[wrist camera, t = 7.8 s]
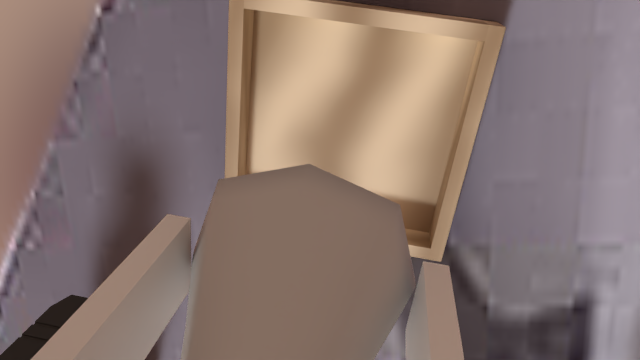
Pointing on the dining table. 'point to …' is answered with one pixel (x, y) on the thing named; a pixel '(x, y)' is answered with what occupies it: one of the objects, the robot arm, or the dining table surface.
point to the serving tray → (361, 100)
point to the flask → (296, 270)
